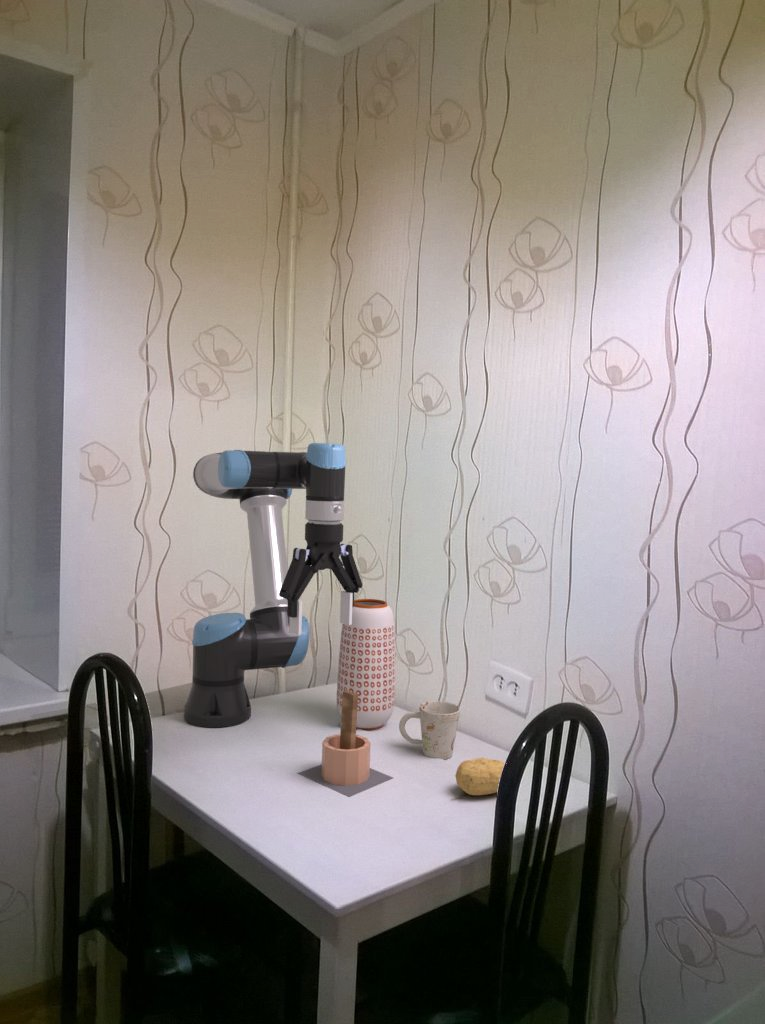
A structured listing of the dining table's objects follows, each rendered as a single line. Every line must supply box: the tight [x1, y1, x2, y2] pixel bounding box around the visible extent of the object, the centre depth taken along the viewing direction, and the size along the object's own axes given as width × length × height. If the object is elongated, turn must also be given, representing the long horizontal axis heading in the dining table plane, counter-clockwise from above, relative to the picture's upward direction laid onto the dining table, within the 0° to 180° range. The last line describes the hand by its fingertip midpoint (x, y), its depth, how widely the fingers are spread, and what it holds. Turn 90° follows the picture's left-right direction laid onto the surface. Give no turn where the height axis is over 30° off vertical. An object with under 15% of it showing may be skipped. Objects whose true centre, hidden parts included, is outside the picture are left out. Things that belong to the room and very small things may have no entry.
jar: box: [321, 733, 372, 786], centre depth 147 cm, size 9×9×6 cm
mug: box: [398, 700, 461, 760], centre depth 160 cm, size 8×13×10 cm, turn 78°
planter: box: [336, 598, 396, 731], centre depth 176 cm, size 13×13×28 cm
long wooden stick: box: [339, 691, 358, 750], centre depth 147 cm, size 4×4×15 cm
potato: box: [455, 757, 506, 796], centre depth 143 cm, size 7×11×6 cm, turn 106°
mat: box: [297, 763, 394, 798], centre depth 147 cm, size 14×12×1 cm
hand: (321, 628), depth 154 cm, fingers open, 13 cm apart
